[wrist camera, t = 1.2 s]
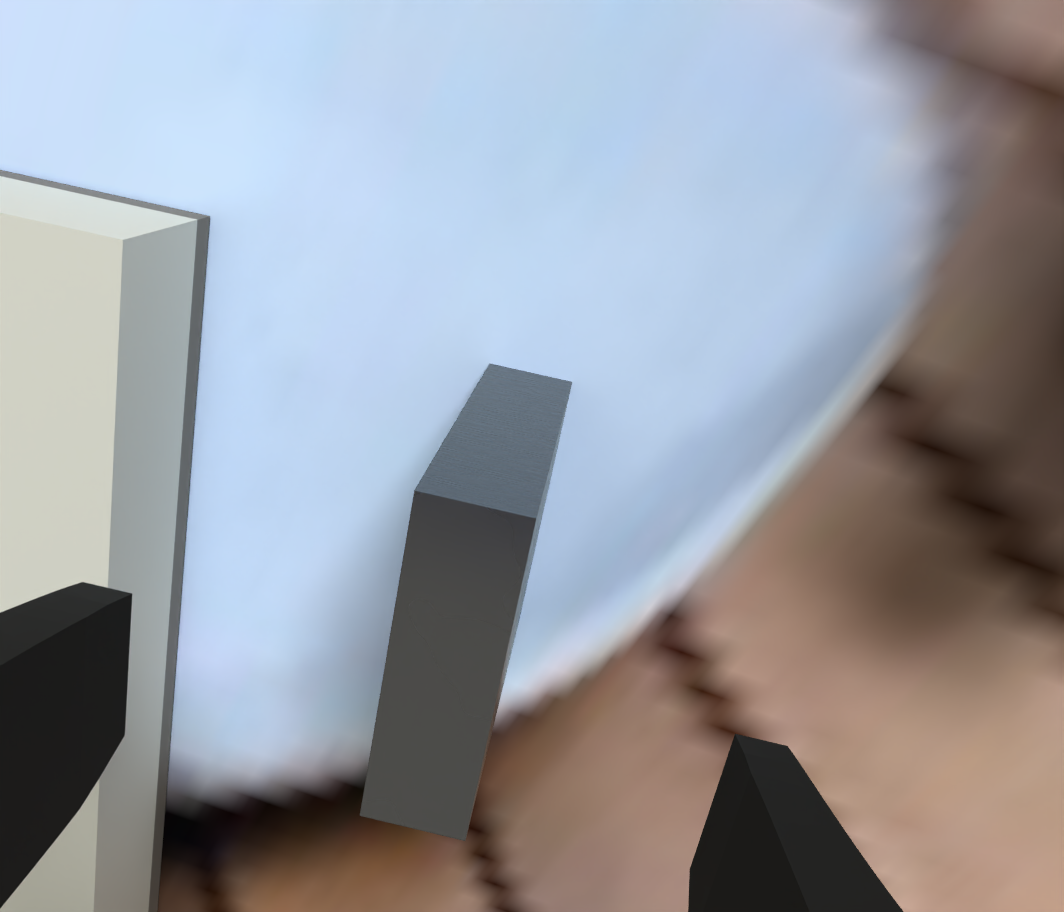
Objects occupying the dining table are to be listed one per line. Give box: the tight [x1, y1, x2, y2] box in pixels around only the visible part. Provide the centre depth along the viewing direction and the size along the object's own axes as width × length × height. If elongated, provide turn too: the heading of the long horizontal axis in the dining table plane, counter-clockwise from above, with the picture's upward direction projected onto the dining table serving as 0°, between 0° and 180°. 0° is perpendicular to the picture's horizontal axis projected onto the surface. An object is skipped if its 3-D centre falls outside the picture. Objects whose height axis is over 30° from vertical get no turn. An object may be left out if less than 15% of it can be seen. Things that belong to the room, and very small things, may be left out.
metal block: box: [360, 364, 572, 841], centre depth 15 cm, size 5×2×6 cm, turn 169°
